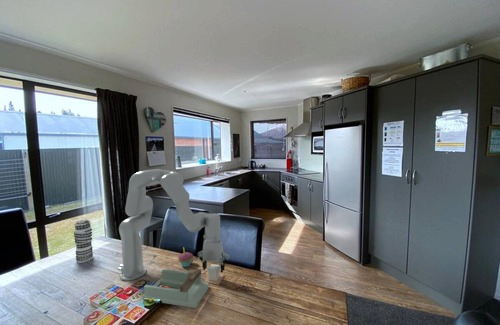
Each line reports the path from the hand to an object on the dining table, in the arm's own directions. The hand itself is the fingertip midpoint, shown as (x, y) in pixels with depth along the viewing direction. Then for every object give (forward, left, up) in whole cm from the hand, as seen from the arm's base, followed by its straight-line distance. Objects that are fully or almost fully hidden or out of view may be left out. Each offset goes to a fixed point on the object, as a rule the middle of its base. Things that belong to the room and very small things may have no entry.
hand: (213, 270), depth 109 cm
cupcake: (-22, +10, -5) cm, 25 cm away
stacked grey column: (-89, +4, -5) cm, 89 cm away
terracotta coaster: (0, 0, -5) cm, 5 cm away
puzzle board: (-13, -14, -5) cm, 20 cm away
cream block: (0, 0, -4) cm, 4 cm away
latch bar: (-5, -14, +2) cm, 15 cm away
